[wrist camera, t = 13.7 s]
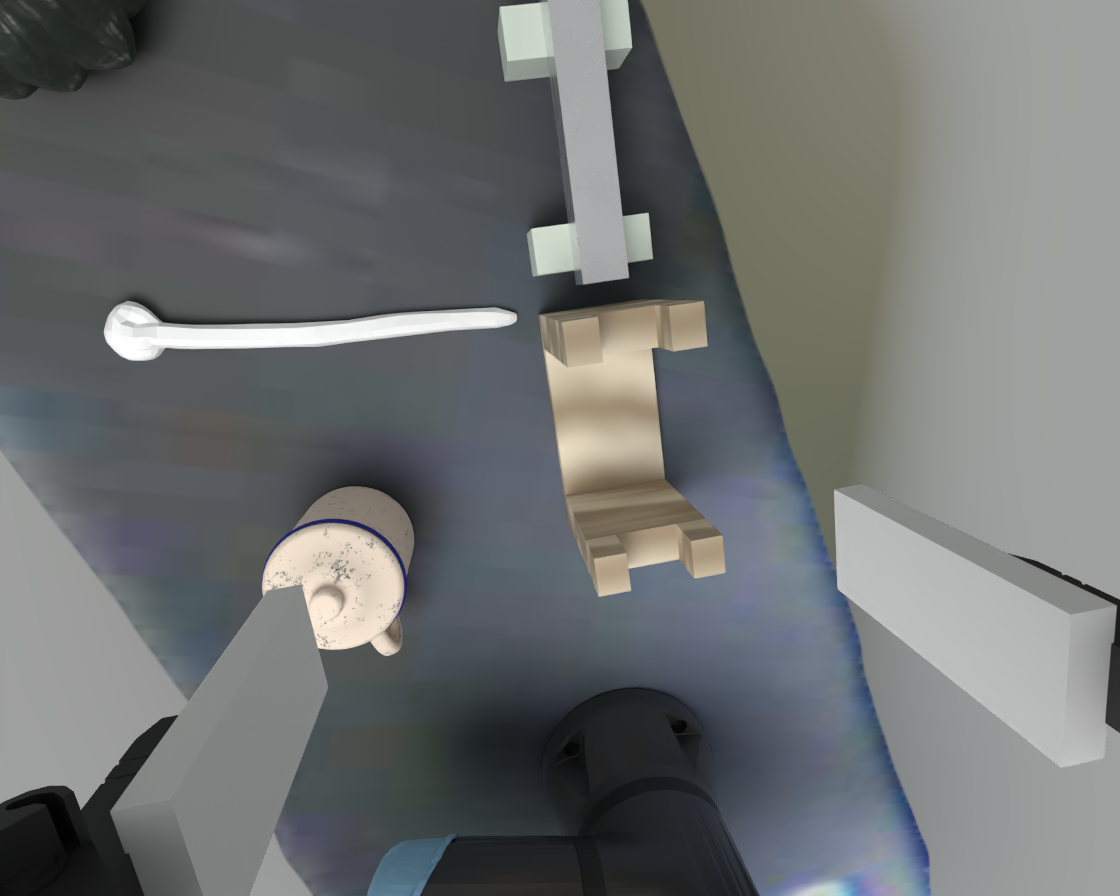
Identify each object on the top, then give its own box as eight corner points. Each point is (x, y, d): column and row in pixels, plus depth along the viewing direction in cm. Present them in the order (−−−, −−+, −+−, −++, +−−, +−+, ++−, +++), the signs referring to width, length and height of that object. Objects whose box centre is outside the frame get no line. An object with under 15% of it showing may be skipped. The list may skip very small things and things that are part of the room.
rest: (638, 261, 48) (652, 258, 44) (532, 276, 47) (537, 275, 43) (613, 20, 44) (626, -7, 40) (497, 32, 43) (499, 6, 39)
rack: (663, 503, 53) (725, 572, 40) (568, 520, 52) (598, 596, 39) (642, 299, 48) (704, 301, 35) (538, 314, 48) (561, 322, 35)
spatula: (512, 274, 47) (515, 273, 45) (517, 330, 48) (520, 332, 46) (109, 302, 44) (85, 303, 42) (123, 361, 45) (100, 366, 43)
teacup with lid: (274, 513, 49) (214, 579, 37) (382, 461, 49) (354, 511, 38) (353, 638, 52) (319, 734, 41) (455, 589, 52) (449, 671, 41)
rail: (618, 278, 44) (629, 277, 41) (575, 285, 44) (583, 284, 41) (585, -21, 39) (594, -46, 37) (537, -16, 39) (542, -41, 36)
